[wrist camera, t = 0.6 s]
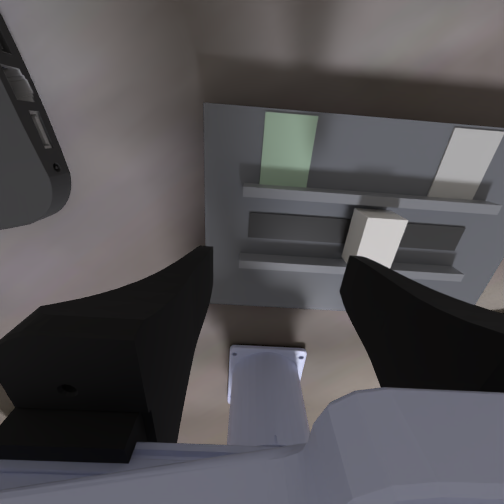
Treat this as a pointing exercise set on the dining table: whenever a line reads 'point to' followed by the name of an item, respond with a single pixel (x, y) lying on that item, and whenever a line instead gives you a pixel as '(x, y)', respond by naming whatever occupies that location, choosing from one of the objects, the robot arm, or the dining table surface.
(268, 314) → the dining table surface
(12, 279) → the dining table surface
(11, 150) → the media streaming box
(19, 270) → the dining table surface
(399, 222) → the block
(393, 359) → the robot arm
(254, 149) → the panel
